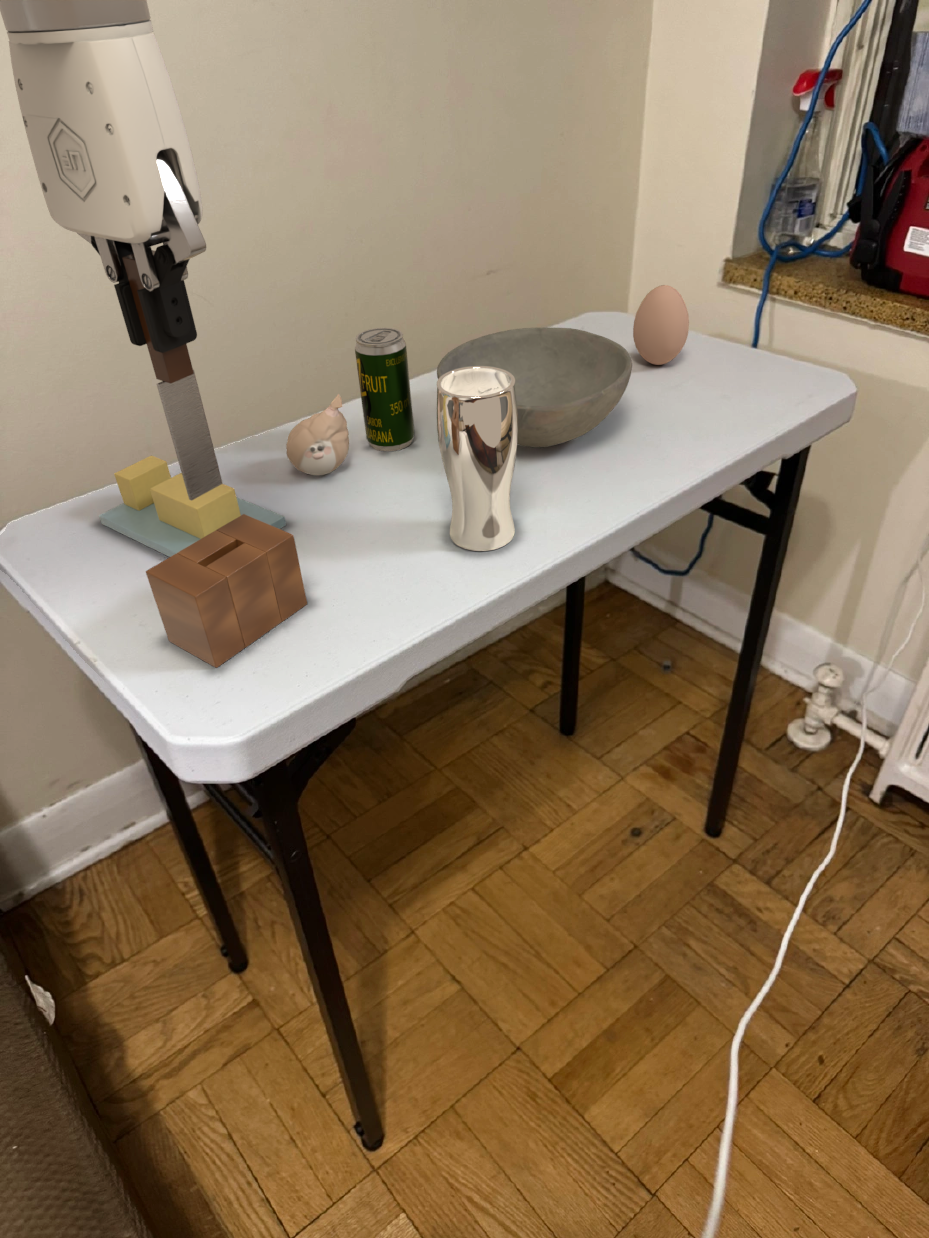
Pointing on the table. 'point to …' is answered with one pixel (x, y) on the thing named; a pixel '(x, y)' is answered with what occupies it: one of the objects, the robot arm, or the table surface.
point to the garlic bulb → (319, 441)
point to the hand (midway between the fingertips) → (164, 340)
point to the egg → (661, 325)
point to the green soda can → (385, 388)
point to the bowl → (552, 378)
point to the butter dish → (165, 536)
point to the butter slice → (141, 481)
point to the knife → (180, 405)
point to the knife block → (228, 588)
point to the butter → (194, 507)
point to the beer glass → (478, 453)
